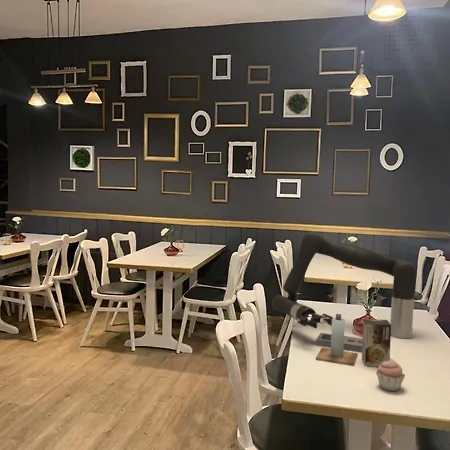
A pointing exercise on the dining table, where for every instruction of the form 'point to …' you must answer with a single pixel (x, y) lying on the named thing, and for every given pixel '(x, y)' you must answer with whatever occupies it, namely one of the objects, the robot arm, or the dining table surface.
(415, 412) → the dining table surface
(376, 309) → the dining table surface
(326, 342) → the grey tray
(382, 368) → the cupcake
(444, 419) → the dining table surface
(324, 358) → the walnut board
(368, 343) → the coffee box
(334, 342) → the pale blue bottle
